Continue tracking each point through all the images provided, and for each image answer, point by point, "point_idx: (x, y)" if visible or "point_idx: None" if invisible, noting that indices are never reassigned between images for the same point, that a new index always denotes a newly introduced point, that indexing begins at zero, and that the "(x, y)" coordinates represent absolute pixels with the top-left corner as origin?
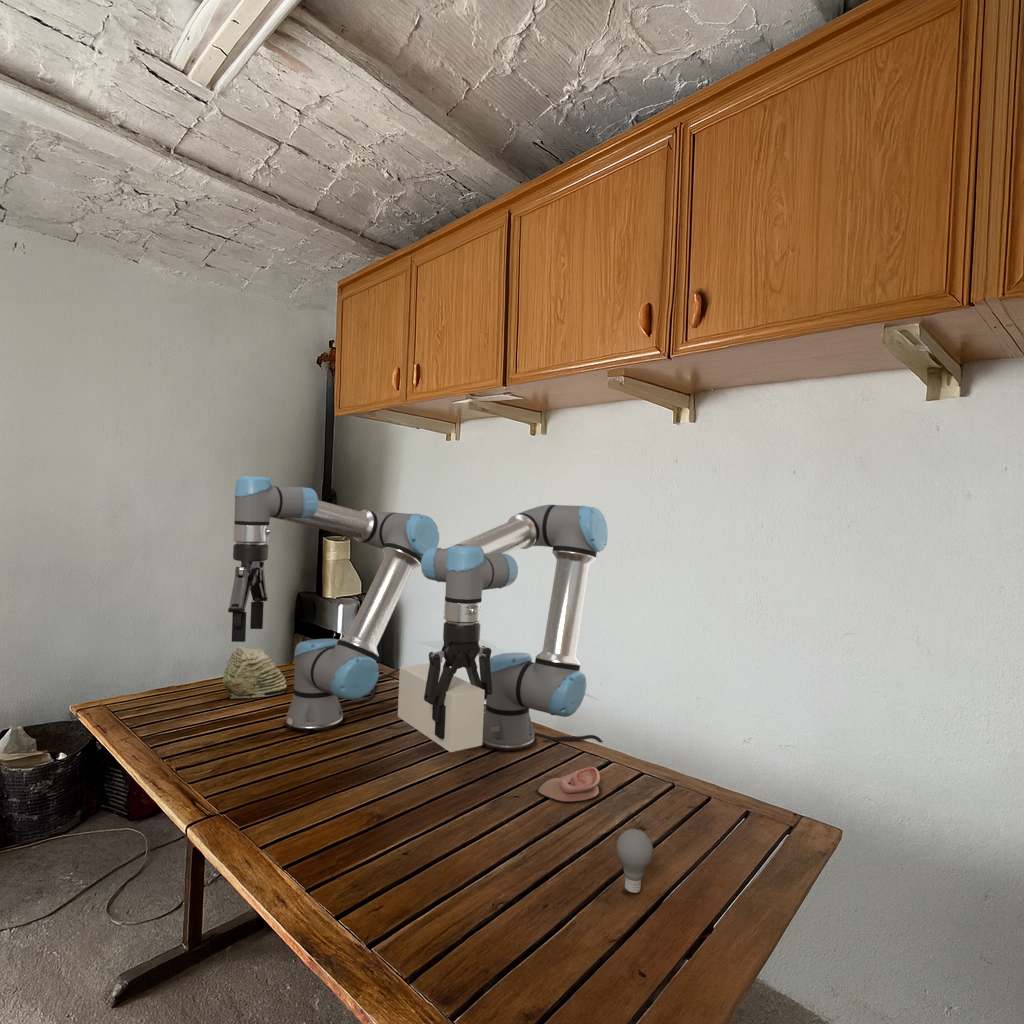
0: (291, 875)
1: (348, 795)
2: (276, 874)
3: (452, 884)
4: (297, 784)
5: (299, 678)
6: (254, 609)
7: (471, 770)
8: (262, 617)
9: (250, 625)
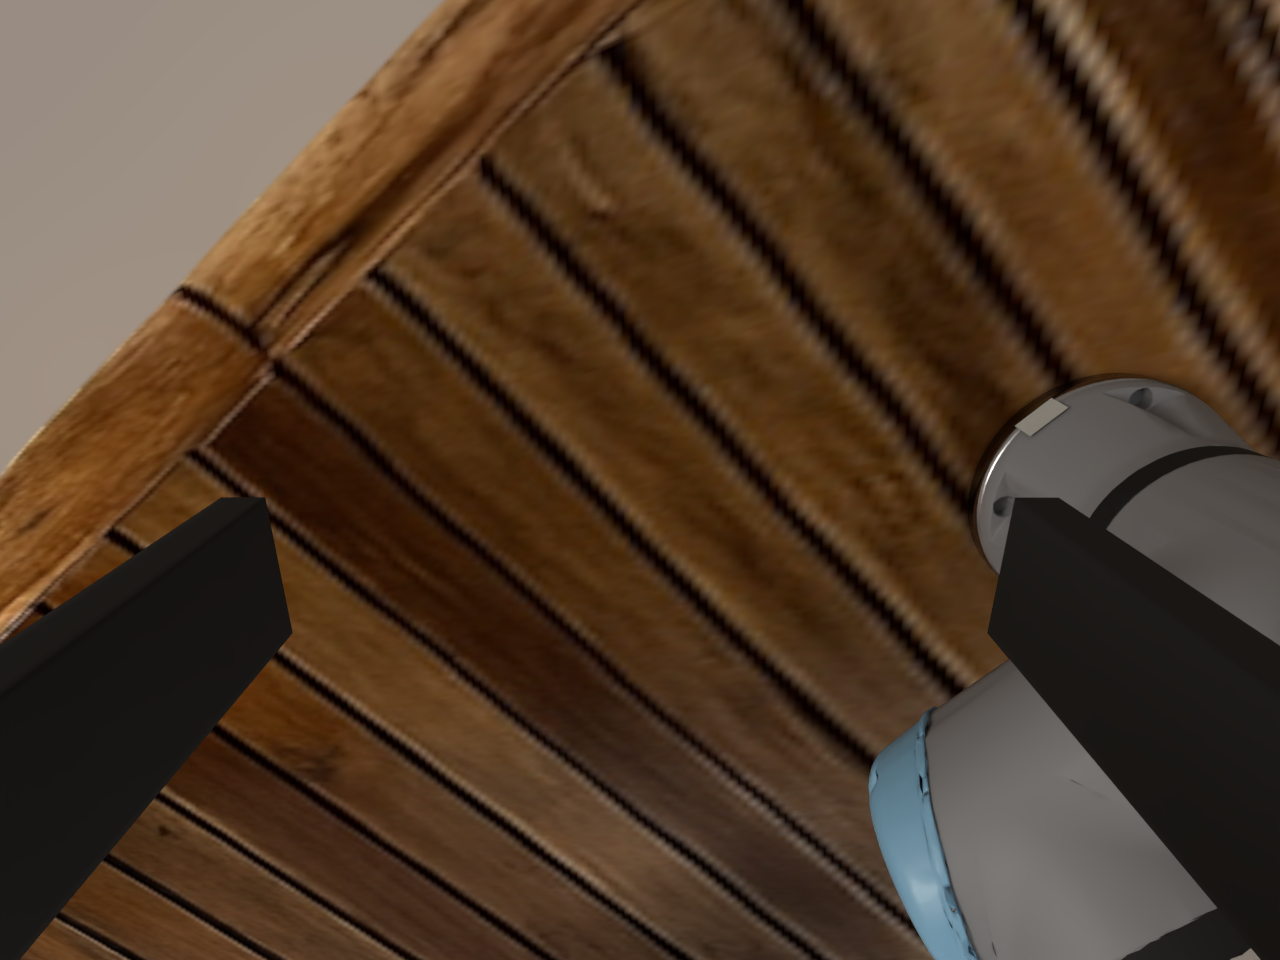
0: (13, 628)
1: (433, 691)
2: (7, 596)
3: (73, 907)
4: (496, 543)
5: (1186, 528)
6: (1215, 721)
7: (608, 951)
8: (1088, 737)
9: (1038, 519)
